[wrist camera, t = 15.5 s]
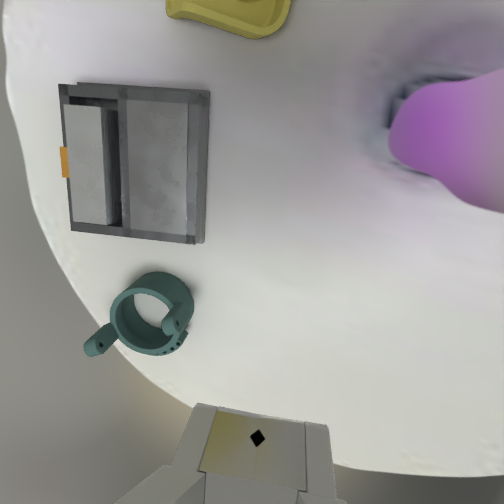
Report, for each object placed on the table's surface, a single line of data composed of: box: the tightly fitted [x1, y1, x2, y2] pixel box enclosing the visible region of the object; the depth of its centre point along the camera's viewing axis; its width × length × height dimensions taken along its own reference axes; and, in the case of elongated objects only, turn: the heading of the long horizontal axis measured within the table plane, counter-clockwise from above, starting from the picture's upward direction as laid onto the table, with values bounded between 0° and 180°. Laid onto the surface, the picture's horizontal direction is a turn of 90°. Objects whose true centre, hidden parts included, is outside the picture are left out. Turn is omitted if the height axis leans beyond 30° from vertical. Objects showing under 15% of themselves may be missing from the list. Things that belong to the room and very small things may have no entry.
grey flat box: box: [58, 82, 210, 245], centre depth 35 cm, size 16×14×4 cm
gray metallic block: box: [63, 104, 122, 225], centre depth 34 cm, size 11×4×5 cm, turn 175°
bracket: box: [84, 272, 194, 357], centre depth 37 cm, size 9×9×9 cm
